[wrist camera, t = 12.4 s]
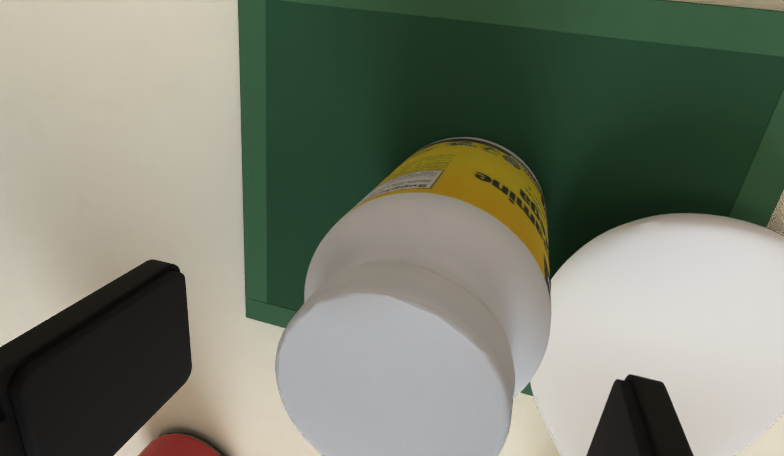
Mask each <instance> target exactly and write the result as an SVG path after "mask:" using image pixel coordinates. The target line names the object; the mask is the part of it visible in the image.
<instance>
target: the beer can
mask: <svg viewBox="0 0 784 456" xmlns="http://www.w3.org/2000/svg"><path fill="white" fill-rule="evenodd" d="M138 456H222V455H221V454H220V453H219V452H218V451H217V450H216V449H215V448H213V447H212V446H211V445H209V444H208V443H207V442H205V441H203V440H201V439H198V438H196V437H194V436H191V435H186V434H181V433H174V434H166V435H162V436H160V437H158V438H157V439H155V440H153V441H152V442H151V443H150V444H149V445H148V446H147V447H146V448H145V449H144V450H143V451H142V452H141V453H140V454H139V455H138Z"/></svg>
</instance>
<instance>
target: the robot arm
mask: <svg viewBox="0 0 784 456" xmlns="http://www.w3.org/2000/svg"><path fill="white" fill-rule="evenodd" d="M191 369H192V362H191V349H190V336H189V323H188V310H187V297H186V284H185V277H184V275H183V274H182V273H180V269H179V268H178V266H176V265H174V264H170V263H166V262H162V261H158V260H148V261H146V262H144V263H143V264H141V265H139V266H138V267H136V268H134V269H133V270H131V271H129V272H127V273H126V274H124V275H122V276H121V277H119V278H117V279H116V280H114V281H112V282H110V283H109V284H107V285H105V286H104V287H102V288H100V289H99V290H97V291H95V292H93V293H92V294H90V295H88V296H87V297H85V298H83V299H82V300H80V301H78V302H76V303H75V304H73V305H71V306H70V307H68V308H66V309H65V310H63V311H61V312H59V313H58V314H56V315H54V316H53V317H51V318H49V319H48V320H46V321H44V322H42V323H41V324H39V325H37V326H36V327H34V328H32V329H31V330H29V331H27V332H25V333H24V334H22V335H20V336H19V337H17V338H15V339H14V340H12V341H10V342H8V343H7V344H5V345H3V346H2V347H0V456H113V455H114V454H115V453H116V452H117V451H118V450H119V449H120V448H121V447H122V446H123V445H124V444H125V443H126V442H127V441H128V440H129V439H130V438H131V437H132V436H133V435H134V434H135V433H136V432H137V431H138V430H139V429H140V428H141V427H142V426H143V425H144V424H145V423H146V422H147V421H148V420H149V419H150V418H151V417H152V416H153V415H154V414H155V413H156V412H157V411H158V410H159V409H160V408H161V407H162V406H163V405H164V404H165V403H166V402H167V401H168V400H169V399H170V398H171V397H172V396H173V395H174V394H175V393H176V392H177V391H178V390H179V389H180V388H181V387H182V386H183V385H184V383H185V382H186V381H187V380H188V378H189V376H190V373H191ZM586 456H694V455H693V453H692V450H691V448H690V445H689V443H688V441H687V438H686V436H685V433H684V431H683V428H682V426H681V423H680V421H679V418H678V416H677V413H676V411H675V409H674V406H673V404H672V401H671V399H670V396H669V394H668V391H667V389H666V387H665V385H664V383H663V382H661V381H657V380H653V379H649V378H644V377H640V376H636V375H632V374H629V375H628V376H627V377H626V378H625V380H620V379H616V380H615V381H614V383H613V386H612V388H611V391H610V394H609V396H608V399H607V402H606V404H605V407H604V410H603V412H602V415H601V418H600V420H599V423H598V426H597V428H596V431H595V434H594V437H593V439H592V442H591V445H590V447H589V450H588V453H587V455H586Z"/></svg>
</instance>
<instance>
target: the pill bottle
mask: <svg viewBox="0 0 784 456" xmlns="http://www.w3.org/2000/svg"><path fill="white" fill-rule="evenodd" d="M551 314H552V313H551V280H550V268H549V252H548V222H547V212H546V205H545V201H544V196H543V193H542V190H541V187H540V185H539V183H538V181H537V179H536V177H535V176H534V174H533V173H532V171H531V170H530V168H529V167H528V166H527V165H526V164H525V163H524V162H523V161H522V160H521V159H520V158H519V157H518V156H517V155H515V154H514V153H513V152H511V151H510V150H508V149H506V148H505V147H503V146H501V145H499V144H496V143H494V142H491V141H488V140H484V139H480V138H473V137H456V138H448V139H443V140H440V141H436V142H434V143H431V144H429V145H427V146H425V147H423V148H421V149H420V150H418V151H417V152H415V153H414V154H412V155H411V156H410V157H409V158H408V159H406V160H405V161H404V162H403V163H402V164H401V165H400V166H399V167H397V168H396V169H395V170H394V171H393V172H392V173H391V174H390V175H389V176H388V177H387V178H385V179H384V180H383V181H382V182H381V183H380V184H379V185H378V186H377V187H376V188H375V189H374V190H372V191H371V192H370V193H369V194H368V195H367V196H366V197H365V198H364V199H362V200H361V201H360V202H359V203H358V204H357V205H356V206H355V207H353V208H352V209H351V210H350V211H349V212H348V213H347V214H345V215H344V216H343V217H342V218H341V219H340V220H339V221H338V222H337V223H336V224H335V225H334V226H333V227H332V228H331V230H330V231H329V232H328V233H327V235H326V236H325V237H324V238H323V240H322V241H321V242H320V244H319V246H318V248H317V249H316V251H315V253H314V255H313V257H312V260H311V262H310V265H309V268H308V272H307V276H306V282H305V289H304V304H303V305H302V307H301V308H300V309H299V310H298V312H297V313H296V314H295V315H294V317H293V318H292V319H291V320H290V322H289V323H288V325H287V327H286V328H285V330H284V332H283V334H282V337H281V339H280V341H279V345H278V349H277V355H276V365H275V371H276V379H277V385H278V389H279V393H280V396H281V399H282V402H283V404H284V407H285V409H286V411H287V413H288V415H289V417H290V418H291V420H292V422H293V423H294V425H295V426H296V427H297V429H298V430H299V432H300V433H301V434H302V435H303V437H304V438H305V439H306V440H307V441H308V442H309V443H310V444H311V445H312V446H313V447H314V448H315V449H316V450H317V451H318V452H319V453H320V454H322V455H323V456H498V454H499V453H500V451H501V449H502V448H503V446H504V443H505V441H506V438H507V435H508V433H509V428H510V423H511V414H512V405H513V398H514V397H516V396H517V395H518V394H519V393H520V392H521V391H522V390H523V389H524V388H525V387H526V386H527V384H528V383H529V382H530V381H531V379H532V378H533V376H534V375H535V373H536V372H537V370H538V368H539V366H540V364H541V362H542V360H543V357H544V355H545V352H546V350H547V345H548V341H549V335H550V326H551Z"/></svg>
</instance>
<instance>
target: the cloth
mask: <svg viewBox="0 0 784 456" xmlns="http://www.w3.org/2000/svg"><path fill="white" fill-rule="evenodd" d="M238 17H239V57H240V97H241V137H242V177H243V217H244V257H245V297H246V317H247V318H251V319H254V320H258V321H261V322H265V323H269V324H272V325H276V326H280V327H283V328H286V327H287V325H288V323H289V322H290V320H291V319H292V318H293V317H294V315H295V314H296V313H297V312H298V310H299V309H300V308H301V307H302V305H303V304H304V289H305V282H306V276H307V272H308V268H309V265H310V262H311V260H312V257H313V255H314V253H315V251H316V249H317V248H318V246H319V244H320V242H321V241H322V240H323V238H324V237H325V236H326V235H327V233H328V232H329V231H330V230H331V228H332V227H333V226H334V225H335V224H336V223H337V222H338V221H339V220H340V219H341V218H342V217H343V216H344V215H345V214H347V213H348V212H349V211H350V210H351V209H352V208H353V207H355V206H356V205H357V204H358V203H359V202H360V201H361V200H362V199H364V198H365V197H366V196H367V195H368V194H369V193H370V192H371V191H372V190H374V189H375V188H376V187H377V186H378V185H379V184H380V183H381V182H382V181H383V180H384V179H385V178H387V177H388V176H389V175H390V174H391V173H392V172H393V171H394V170H395V169H396V168H397V167H399V166H400V165H401V164H402V163H403V162H404V161H405V160H406V159H408V158H409V157H410V156H411V155H412V154H414V153H415V152H417V151H418V150H420V149H421V148H423V147H425V146H427V145H429V144H431V143H434V142H436V141H440V140H443V139H448V138H456V137H473V138H480V139H484V140H488V141H491V142H494V143H496V144H499V145H501V146H503V147H505V148H506V149H508V150H510V151H511V152H513V153H514V154H515V155H517V156H518V157H519V158H520V159H521V160H522V161H523V162H524V163H525V164H526V165H527V166H528V167H529V168H530V170H531V171H532V173H533V174H534V176H535V177H536V179H537V181H538V183H539V185H540V187H541V190H542V193H543V196H544V201H545V205H546V212H547V222H548V252H549V268H550V280H551V279H552V278H553V276H554V275H555V274H556V272H557V271H558V270H559V269H560V268H561V267H562V265H563V264H564V263H565V262H566V261H567V260H568V259H569V258H570V257H571V256H572V255H573V254H574V253H576V252H577V251H578V250H579V249H580V248H582V247H583V246H584V245H585V244H587V243H588V242H590V241H591V240H593V239H594V238H596V237H597V236H599V235H601V234H603V233H605V232H607V231H608V230H610V229H613V228H615V227H618V226H620V225H623V224H626V223H629V222H632V221H635V220H638V219H642V218H646V217H651V216H655V215H663V214H672V213H696V214H710V215H717V216H725V217H730V218H734V219H739V220H743V221H746V222H750V223H753V224H756V225H759V226H762V227H765V228H766V226H767V224H768V222H769V220H770V217H771V215H772V213H773V211H774V209H775V207H776V205H777V202H778V200H779V198H780V196H781V194H782V192H783V190H784V12H783V11H773V10H762V9H751V8H741V7H730V6H719V5H709V4H698V3H687V2H677V1H666V0H238ZM520 393H524V394H527V395H531V396H533V392H532V389H531V383H530V382H529V383H528V384H527V386H526V387H525V388H524V389H523V390H522V391H521V392H520Z"/></svg>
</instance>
